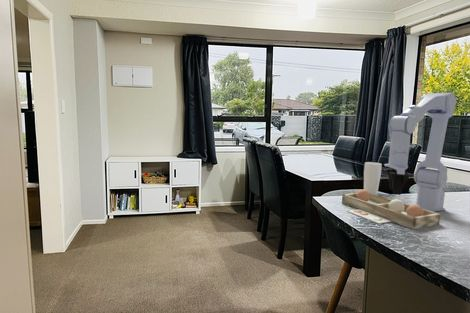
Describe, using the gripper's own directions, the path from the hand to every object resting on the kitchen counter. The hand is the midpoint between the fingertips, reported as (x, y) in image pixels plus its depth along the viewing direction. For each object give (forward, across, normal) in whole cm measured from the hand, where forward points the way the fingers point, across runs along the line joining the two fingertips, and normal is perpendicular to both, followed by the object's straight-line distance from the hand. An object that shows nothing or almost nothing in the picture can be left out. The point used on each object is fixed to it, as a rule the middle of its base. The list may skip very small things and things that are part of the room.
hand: (395, 191), depth 110 cm
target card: (+10, 0, -8) cm, 12 cm away
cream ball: (+6, -4, +2) cm, 8 cm away
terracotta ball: (+6, +1, +6) cm, 9 cm away
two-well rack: (+10, -7, -1) cm, 12 cm away
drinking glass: (+10, -29, -5) cm, 31 cm away
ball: (+6, -15, -9) cm, 19 cm away
